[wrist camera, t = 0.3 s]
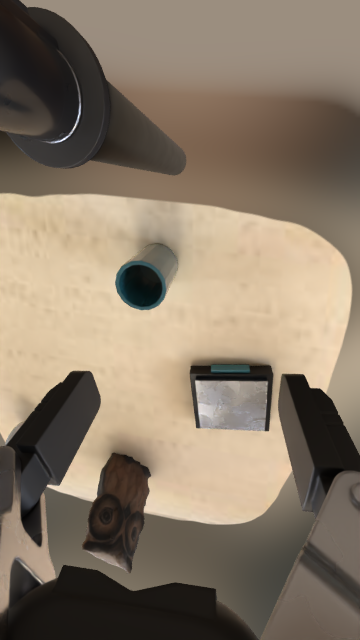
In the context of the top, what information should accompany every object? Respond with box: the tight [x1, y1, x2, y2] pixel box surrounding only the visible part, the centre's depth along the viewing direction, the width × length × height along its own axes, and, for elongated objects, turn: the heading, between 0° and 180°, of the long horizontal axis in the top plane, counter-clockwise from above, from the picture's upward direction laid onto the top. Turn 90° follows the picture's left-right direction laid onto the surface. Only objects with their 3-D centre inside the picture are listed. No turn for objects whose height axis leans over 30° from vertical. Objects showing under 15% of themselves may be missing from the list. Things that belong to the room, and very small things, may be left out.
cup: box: [115, 244, 178, 310], centre depth 36 cm, size 7×7×10 cm
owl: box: [82, 453, 151, 573], centre depth 60 cm, size 13×13×20 cm
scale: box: [190, 365, 273, 431], centre depth 50 cm, size 16×15×3 cm
